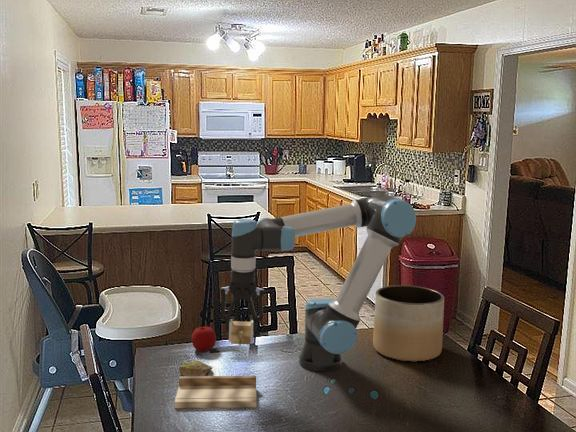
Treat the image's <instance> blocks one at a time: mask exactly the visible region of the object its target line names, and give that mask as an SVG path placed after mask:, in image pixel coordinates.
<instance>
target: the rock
mask: <svg viewBox="0 0 576 432" xmlns="http://www.w3.org/2000/svg"><path fill="white" fill-rule="evenodd" d="M178 368H179V369H178V371H179V373H180V374H181V376H207V374H208V373H209V372H211V371H212V370H213V367H212V366H211V365H208V364H207V363H204V362H202V361H200V360H192V361H186V362H184V363H182V364H181V366H180V367H178Z"/></svg>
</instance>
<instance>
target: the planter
mask: <svg viewBox="0 0 576 432" xmlns="http://www.w3.org/2000/svg"><path fill="white" fill-rule="evenodd" d="M374 299H375V300H374V301H375V303H374V319H373V334H372V347H374V349H375V350H376V351H377V352H378V353H379V354H381V355H383V356H384V357H386V358H388V357H389V358H388V359H391V358H392V359H391V360H394V359H396V361H399V360H400V361H399V362H406V361H411V362H410V363H418V362H417V361H423V362H427V361H426V360H428V361H431V360H433V359H436V358H437V357H439V356H440V355H441V353H442V350H443V349H442V348H443V335H444V334H443V333H444V331H443V330H444V313H445V312H444V311H445V296H444V295H443V294H442V293H441V292H439V291H437V290H435V289H431V288H429V287H425V286H424V287H423V286H416V285H409V284H408V285H406V284H400V285H399V284H398V285H397V284H395V285H387V286H382V287H380V288H378V289H377V290H376V291H375V298H374ZM430 359H431V360H430Z"/></svg>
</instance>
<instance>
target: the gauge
mask: <svg viewBox="0 0 576 432" xmlns="http://www.w3.org/2000/svg"><path fill="white" fill-rule="evenodd" d="M250 337H251V321H239V320H232V325H231V342H230V344H231V345H233V344H234V345H238V346H241V345H251V343H250Z"/></svg>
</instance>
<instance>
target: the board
mask: <svg viewBox="0 0 576 432" xmlns="http://www.w3.org/2000/svg"><path fill="white" fill-rule="evenodd" d="M215 408H216V409H219V408H222V409H223V408H225V409H226V408H227V409H228V408H229V409H231V408H237V409H238V408H257V375H205V376H183V375H181V376H179V377H178V388H177V391H176V396H175V399H174V409H215Z"/></svg>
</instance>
